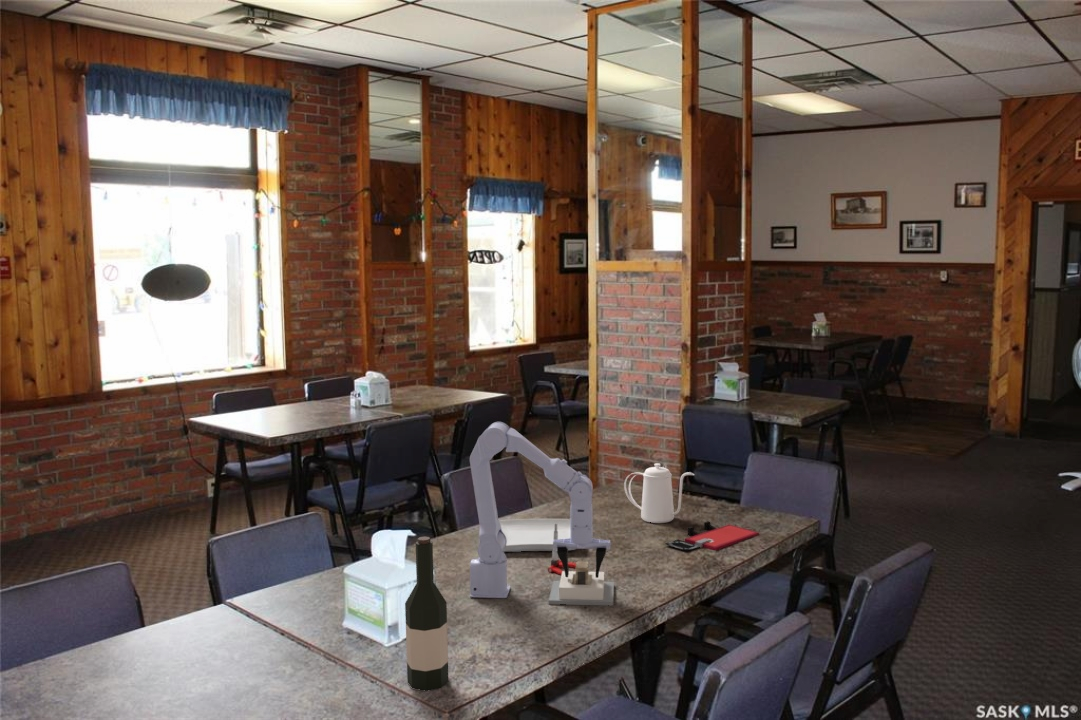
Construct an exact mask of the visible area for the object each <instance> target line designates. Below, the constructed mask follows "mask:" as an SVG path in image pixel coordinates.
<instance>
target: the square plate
mask: <svg viewBox="0 0 1081 720" xmlns="http://www.w3.org/2000/svg"><path fill="white" fill-rule="evenodd" d="M498 520H499V522H500V524H501V529H502V532H503V533H504V534H505V536H506V539H507V543H506V546H505V548H504V549H503V552H504V553H506V552H507V553H522V552H521V551H553V538H554V529H555V524H557V531H558V539H569V538H570V518H519V519H518V518H517V519H516V518H515V519H498ZM575 550H576V549H572V548H568V551H575Z"/></svg>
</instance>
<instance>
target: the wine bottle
mask: <svg viewBox="0 0 1081 720" xmlns="http://www.w3.org/2000/svg"><path fill="white" fill-rule="evenodd" d="M433 547H434V545H433V541H432V540H431V537H429V536H420V537H418V538H417V541H416V542H415V565H416V566H415V571H416V584H415V585H414V587H413V589H412V590H411V592H410V594H409V595H408V597H407V599H406V601H405V603H404V610H405V614H404V615H405V639H406V640H405V641H406V642H405V644H406V646H405V648H406V671H407V673H406V674H407V684H408V683H409V684H410V685H409V684H408V685H409V687H410V686H411V687H412V688H415V689H420V690H419V691H421V690H425V691H424V692H429V691H428V690H430V691H435V690H438V689H442V688H443V687H444V686H445V685H446V684H448V683H449V649H448V648H449V645H448V644H449V643H448V642H449V640H448V613H447V612H448V608H447V607H448V606H447V605H448V604H447V601H446V599H445V598H444V596H443V594H442V593H441V591H440V590H439V588H438V587H437V585H436V583H435V581H434V580H435V579H434V576H435V575H434V549H433ZM411 687H410V688H411ZM412 688H411V689H412ZM415 689H414V690H415Z"/></svg>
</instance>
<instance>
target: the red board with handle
mask: <svg viewBox="0 0 1081 720" xmlns="http://www.w3.org/2000/svg"><path fill="white" fill-rule="evenodd" d="M703 525H704V527H703V529H704V531H705V532H702V533H701V532H700V533H699V532H698V531H696V530H695V527H694V526H691V525H690V526H688V527H687V536H688V535H689V537H687V538H685V539H684V540H681V539H676V540H671V541H669V542H667V543H666V542H665V543H664V545H665V546H666V545H667V546H670V547H674V548H676V549H679V550H683V551H689V550H693V549H696V548H699V547H700V549H701V548H704V547H705V548H704V549H708V550H712V551H715V550H716V551H718V550H720V549H724V548H726V547H729V546H731V545H734V544H736V543H739V542H742V541H745V540H747V539H748V540H749V538H753V537H755V536H758V535H759V534H760V532H758V531H755V530H751V529H749V528H748V529H746V528H743V527H739V526H735V525H733V524H726V525H724V526H723V525H722V526H720V527H717V528H716V527H715V526H713V525H711V521H710V520H709V521H704V524H703ZM691 535H692V536H691Z"/></svg>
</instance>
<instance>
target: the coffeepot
mask: <svg viewBox="0 0 1081 720" xmlns="http://www.w3.org/2000/svg"><path fill="white" fill-rule="evenodd" d="M653 465H654V466H650V467H648V468H646V469H645V471H644V472H640V471H638V472H632V473H630V474H628V475H627V476H626V477H625V480H624V481H623V482H624V483H623V489H624V492H625V495H626V497H627V499H628V501H629V502H630V503H631V504H632V505H633V506H634V507H636V508H637V509H639V510H641V511H640V517H641V519H642V520H643V521H644V522H647V523H650V522H651V523H652V524H665V523H670V522H672V521H673V520H674V518H675V515H677V514H679V513H680V510H681V508H682V507H681V506H682V497H683V495H682V493H683V481H684V477H686V476H695V473H693V472H691V471H689V472H688V471H687V472H684V473H683V474H681V476H680V479H679V488H678V489H679V490H678V503H677V509H676V510H675V509H674V497H673V496H674V495H673V483H672V481H673V480H672V476H673V474H672V473H671V471H670V469H668V468H667V467H663V466H661V463H657V462H656V463H654V464H653ZM631 475H633V476H632V477H631V478H630V480H629V482H628V490H627V480H628V479H629V477H630V476H631ZM638 475H640V476H643V481H642V482H643V483H642V496H641V497H642V498H641V505H639V504H638V503H637V501H636V500H635V499H634V498H633V495H632V491H631V490H632V489H631V486H632V481H633V479H634V478H635V477H636V476H638ZM674 510H675V511H674ZM651 523H650V524H651Z"/></svg>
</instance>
